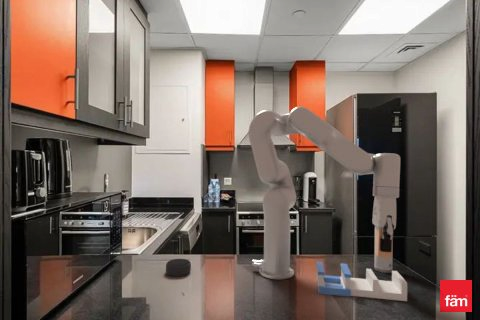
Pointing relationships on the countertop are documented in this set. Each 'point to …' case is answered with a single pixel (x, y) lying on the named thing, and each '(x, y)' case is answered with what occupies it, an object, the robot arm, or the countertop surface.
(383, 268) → the travel mug
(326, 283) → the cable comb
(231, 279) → the countertop surface
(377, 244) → the cord plug
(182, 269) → the smart speaker
